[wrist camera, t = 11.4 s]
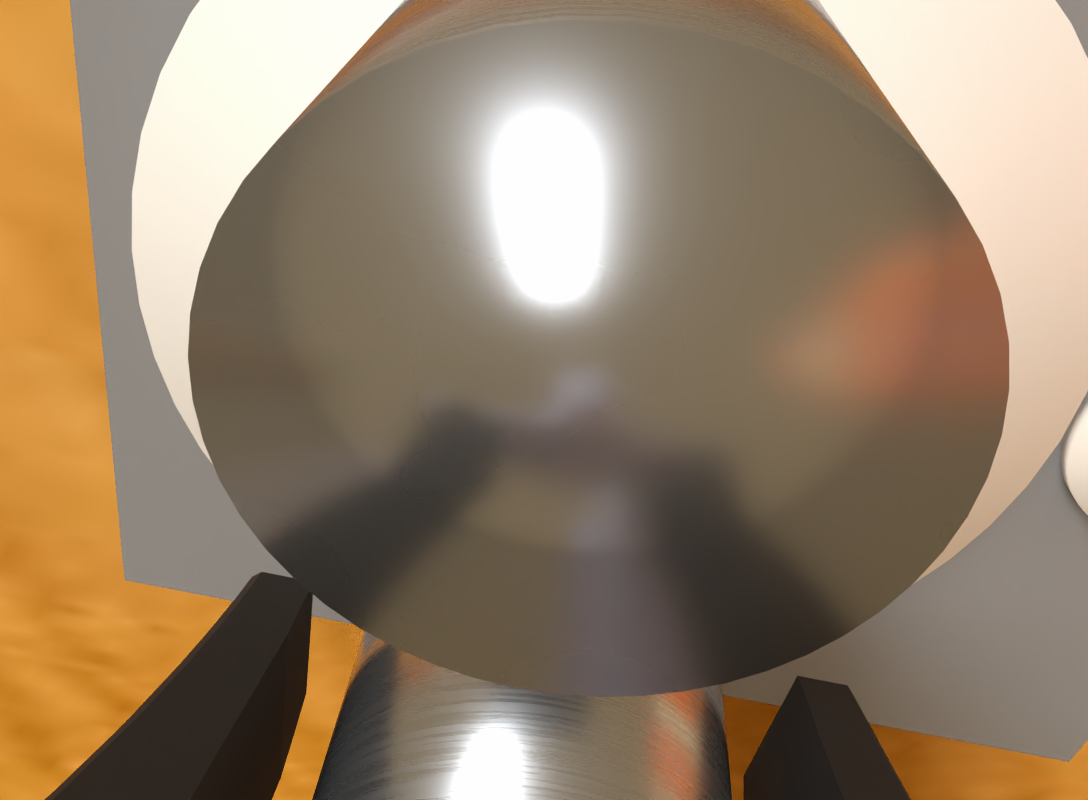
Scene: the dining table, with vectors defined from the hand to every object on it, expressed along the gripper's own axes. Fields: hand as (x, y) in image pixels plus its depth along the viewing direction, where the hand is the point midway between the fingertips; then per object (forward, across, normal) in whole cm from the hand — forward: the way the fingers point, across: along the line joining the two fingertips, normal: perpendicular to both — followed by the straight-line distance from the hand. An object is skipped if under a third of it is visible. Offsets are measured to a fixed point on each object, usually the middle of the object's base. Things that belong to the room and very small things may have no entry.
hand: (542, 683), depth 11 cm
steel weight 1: (+3, +1, -6) cm, 7 cm away
